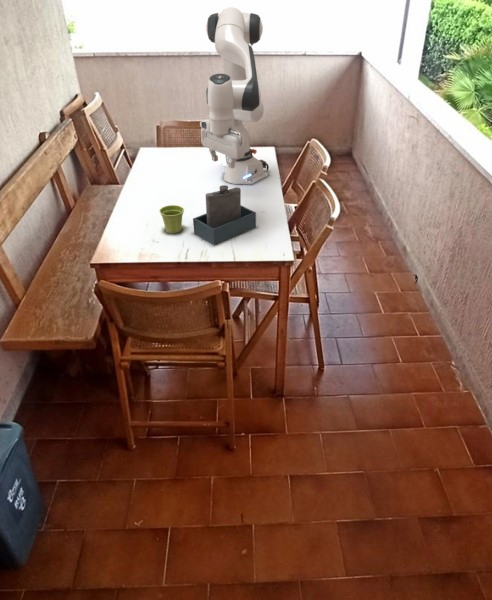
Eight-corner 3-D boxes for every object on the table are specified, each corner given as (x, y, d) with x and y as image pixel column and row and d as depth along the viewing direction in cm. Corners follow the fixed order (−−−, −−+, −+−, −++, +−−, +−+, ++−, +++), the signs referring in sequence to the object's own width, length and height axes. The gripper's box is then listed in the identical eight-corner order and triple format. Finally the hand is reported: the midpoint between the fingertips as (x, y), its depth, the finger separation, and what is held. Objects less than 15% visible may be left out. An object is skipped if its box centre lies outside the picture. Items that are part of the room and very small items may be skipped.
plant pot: (164, 224, 197) (161, 204, 192) (187, 224, 197) (185, 205, 191) (159, 235, 189) (157, 215, 184) (183, 236, 189) (181, 215, 184)
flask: (243, 227, 194) (242, 184, 183) (210, 235, 189) (207, 191, 178) (238, 223, 197) (238, 181, 186) (206, 231, 191) (203, 188, 181)
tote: (235, 216, 203) (235, 202, 199) (255, 227, 195) (256, 212, 192) (193, 233, 191) (192, 218, 187) (214, 245, 183) (213, 229, 180)
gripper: (248, 130, 165) (248, 169, 173) (210, 117, 177) (212, 154, 185) (234, 134, 161) (235, 174, 170) (196, 121, 173) (199, 158, 182)
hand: (223, 164), depth 177 cm, fingers open, 8 cm apart
